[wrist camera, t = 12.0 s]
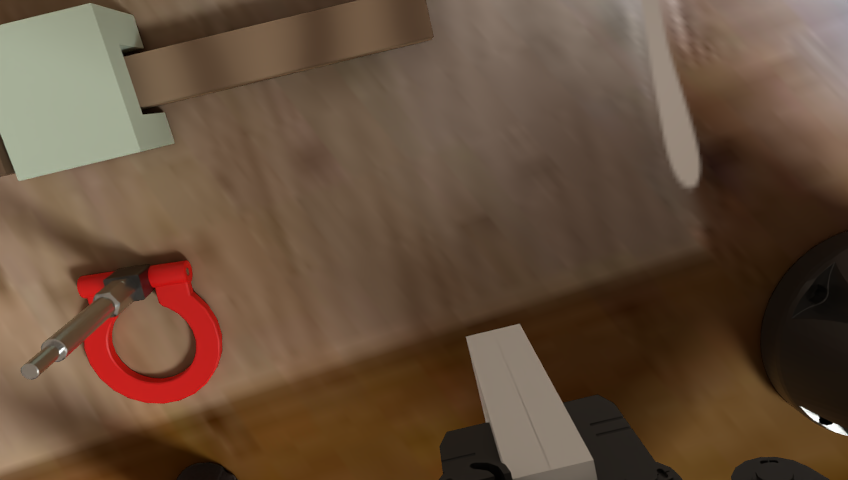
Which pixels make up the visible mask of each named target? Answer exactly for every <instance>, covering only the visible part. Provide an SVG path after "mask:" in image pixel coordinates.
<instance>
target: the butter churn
mask: <svg viewBox="0 0 848 480" xmlns="http://www.w3.org/2000/svg"><path fill="white" fill-rule="evenodd" d="M176 480H237V479H236V478H235V476H234V475H233V474H231V473H228V472H227V471H226V470H225V469H224V468H223V467H222V466H220V465H218V464H213V463H210V462H209V463H208V462H206V463H197V464H194V465H191V466H189V467H187V468H185V470H183V471H182V473H181V474H180V475H179V477H178V478H177V479H176Z"/></svg>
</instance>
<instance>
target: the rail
mask: <svg viewBox="0 0 848 480" xmlns="http://www.w3.org/2000/svg"><path fill="white" fill-rule="evenodd" d="M433 37H434V36H433V31H432V27H431V22H430V18H429V13H428V8H427V4H426V0H356V1H352V2H348V3H344V4H340V5H336V6H331V7H327V8H323V9H319V10H315V11H311V12H307V13H303V14H298V15H294V16H290V17H286V18H282V19H278V20H274V21H270V22H265V23H261V24H257V25H253V26H249V27H245V28H241V29H237V30H232V31H228V32H224V33H220V34H216V35H212V36H208V37H204V38H199V39H195V40H191V41H187V42H183V43H179V44H175V45H171V46H166V47H162V48H158V49H154V50H150V51H146V52H142V53H138V54H133V55H129V56H125V57H124V60H125V63H126V66H127V69H128V72H129V75H130V78H131V81H132V84H133V87H134V90H135V93H136V96H137V99H138V102H139V105H140V108H141V110H143V109H147V108H152V107H156V106H160V105H164V104H168V103H172V102H176V101H181V100H185V99H189V98H193V97H197V96H201V95H205V94H210V93H214V92H218V91H222V90H226V89H230V88H234V87H238V86H243V85H247V84H251V83H255V82H259V81H263V80H267V79H272V78H276V77H280V76H284V75H288V74H292V73H296V72H301V71H305V70H309V69H313V68H317V67H321V66H325V65H330V64H334V63H338V62H342V61H346V60H350V59H354V58H358V57H363V56H367V55H371V54H375V53H379V52H383V51H387V50H392V49H396V48H400V47H404V46H408V45H412V44H416V43H421V42H425V41H429V40H432V38H433ZM10 174H15V170H14V168H13V165H12V163H11V160H10V157H9V155H8V152H7V150H6V147H5V145H4V142H3V139H2V137H1V134H0V177H1V176H6V175H10Z"/></svg>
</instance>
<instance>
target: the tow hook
mask: <svg viewBox="0 0 848 480" xmlns="http://www.w3.org/2000/svg"><path fill="white" fill-rule="evenodd" d="M191 281H192V268H191V265H190V263H189V261H187V260H185V261H179V262H172V263H165V264H159V265H150V264H148V265H141V266H135V267H128V268H121V269H117V270H116V271H112V272H105V273H99V274H92V275H85V276H81V277H79V279H78V282H77V288H78V292H79V294H80V296H81V297H82V298H87V299H88V303H89V306H88V307H86V308H85V309H84V310H83V311H81V312H80V313H79V314H78V315H77V316H75V317H74V318H73V319H72V320H70V321H69V322H68V323H67V324H66V325H64V326H63V327H62V328H61V329H59V330H58V331H57V332H56V333H55V334H53V335H52V336H51V337H50V338H48V339H47V340H46V341H45V342H44V343H43V344H42V346H41V351H40V352H39V353H38V354H36V355H35V356H34V357H33V358H32V359H30V360H29V361H28V362H27V363H26V364H24V365H23V366H22V368H21V373H22V375H23V376H24V377H25V378H27V379H35V378H37V377H38V376H39V375H40V374H41V373H43V372H44V371H45V370H46V369H47V368H48V367H49V366H50V365H51V364H52V363H54V362H60V361H62V360H64V359H65V358H66V357H67V356H68V355H69V354H70V353H71V352H72V351H73V350H75V349H76V348H77V347H78V346H79V345H80V344H81V343H82V342H83V341H84V349H85V352H86V355H87V357H88V360H89V363H90V365H91V366H92V368H93V369H94V371H95V372H96V373H97V375H98V376H99V378H100V379H101V380H102V381H104V382H105V383H106V384H107V385H108V386H109V387H111V388H112V389H113V390H114V391H116V392H118V393H120V394H122V395H124V396H126V397H128V398H130V399H134V400H138V401H141V402H145V403H169V402H174V401H179V400H182V399H184V398H186V397H188V396H190V395H192V394H194V393H196V392H197V391H198V390H199V389H201V388H202V387H203V386H204V385H205V384H206V383H207V382H208V381H209V379H210V378H211V376H212V375H213V373H214V371H215V370H216V368H217V366H218V364H219V360H220V357H221V353H222V333H221V330H220V327H219V324H218V320H217V318H216V317H215V315H214V314H213V312H212V310H211V309H210V307H209V306H208V304H206V303H205V302H204V301H203V300H202V299H201V298H200V297H199V296H198V295H197V294H196V293H195V292H193V288H192V285H191ZM154 289H155V290H156V293H157V297H158V301H159V303H160V304H161V305H162V306H164V307H167V308H169V309H171V310H173V311H175V312H176V313H178V314H179V315H180V316H181V317H182V318H184V319H185V320H186V321H187V323H188V324H189V326H190V327H191V329H192V331H193V333H194V337H195V340H196V353H195V357H194V360H193V362H192V364H191V365H190V366H189V367H188V368H187V369H186V370H184V371H183V372H181V373H179V374H177V375H175V376H172V377H167V378H150V377H147V376H143V375H140V374H138V373H136V372H134V371H133V370H131V369H130V368H128V367H127V366H126V365H125V364H124V363H123V362H122V361H121V360H120V358H119V357H118V355H117V354H116V352H115V349H114V346H113V343H112V330H113V326H114V322H115V321H116V319H117V317H118V316H119V314H120V313H121V312H122V311H124V310H125V309H126V308H127V307H128V306H129V304H131V303H132V302H133V301H139V300H144V299H145V298H146V297H147V296H148V295H149V294H150V293H151V292H152V291H153V290H154Z"/></svg>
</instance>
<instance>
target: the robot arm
mask: <svg viewBox="0 0 848 480" xmlns="http://www.w3.org/2000/svg"><path fill="white" fill-rule="evenodd" d="M466 339H467V344H468V348H469V352H470V357H471V361H472V365H473V369H474V374H475V378H476V382H477V386H478V391H479V395H480V399H481V404H482V408H483V412H484V416H485V421H486V423H483V424H479V425H474V426H470V427H466V428H462V429H457V430H453V431H449V432H447V433H446V435H445V437H444V439H443V441H442V443H441V445H440V454H441V461H442V469H443V475H442V476H441V478H440V479H439V480H682V478H681V477H680V476H679V475H678V474H677V473H676V472H675V471H674V470H673V469H671V468H670V467H668V466H666V465H663V464H660V463H658V462H655V461H654V459H653V458H652V456H651V455H650V453H649V452H648V451H647V449H646V448H645V446H644V445H643V444H642V442H641V441H640V439H639V438H638V436H637V435H636V434H635V432H634V431H633V429H631V427H630V425H629V424H628V422H627V421H626V419H625V418H623V415H622V414H621V412H620V411H619V410H618V408H617V407H616V405H615V404H614V403H613V402H611V401H609V400H607V399H605V398H603V397H601V396H599V395H594V396H590V397H585V398H581V399H577V400H573V401H569V402H564V403H562V401H561V399H560V397H559V395H558V393H557V392H556V390H555V388H554V386H553V384H552V382H551V380H550V379H549V377H548V375H547V373H546V371H545V369H544V368H543V366H542V364H541V362H540V360H539V358H538V356H537V355H536V353H535V351H534V349H533V347H532V345H531V344H530V342H529V340H528V338H527V336H526V334H525V333H524V331H523V329H522V327H521V325H520V324H516V325H512V326H508V327H504V328H500V329H495V330H491V331H487V332H483V333H479V334H474V335H470V336H466ZM761 353H762V359H763V363H764V367H765V370H766V373H767V375H768V377H769V379H770V381H771V383H772V385H773V386H774V388H775V389H776V391H777V392H778V393H779V394H780V395H781V396H782V398H783V399H784V400H785V401H787V402H788V403H789V404H790V405H791V406H793V407H794V408H795V409H796V410H798V411H799V412H800V413H802V414H803V415H804V416H805V417H807V418H808V419H809V420H811V421H813V422H814V423H816V424H818V425H820V426H822V427H824V428H826V429H828V430H830V431H833V432H836V433H839V434H843V435H846V436H848V231H846V232H843V233H840V234H838V235H836V236H833V237H831V238H829V239H827V240H825V241H824V242H822V243H820V244H819V245H817V246H815V247H814V248H813V249H811V250H810V251H808V252H807V253H806V254H805V255H803V256H802V257H801V258H800V259H799V260H798V261H797V262H796V263H795V264H794V265H793V266H792V267H791V268H790V269H789V270H788V272H787V273H786V274H785V275H784V277H783V278H782V279H781V281H780V282H779V284H778V286H777V287H776V289H775V291H774V292H773V294H772V297H771V299H770V301H769V303H768V306H767V308H766V312H765V315H764V319H763V323H762V330H761ZM731 479H732V480H829V479H828V478H826V477H824V476H823V475H821V474H819V473H818V472H816V471H814V470H813V469H811V468H809V467H807V466H805V465H803V464H800V463H798V462H796V461H793V460H789V459H783V458H778V457H759V458H756V459H752V460H748V461H745V462H743V463H742V464H740V465H739V466H737V467H736V468H735V470H734V472H733V474H732V476H731Z"/></svg>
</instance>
